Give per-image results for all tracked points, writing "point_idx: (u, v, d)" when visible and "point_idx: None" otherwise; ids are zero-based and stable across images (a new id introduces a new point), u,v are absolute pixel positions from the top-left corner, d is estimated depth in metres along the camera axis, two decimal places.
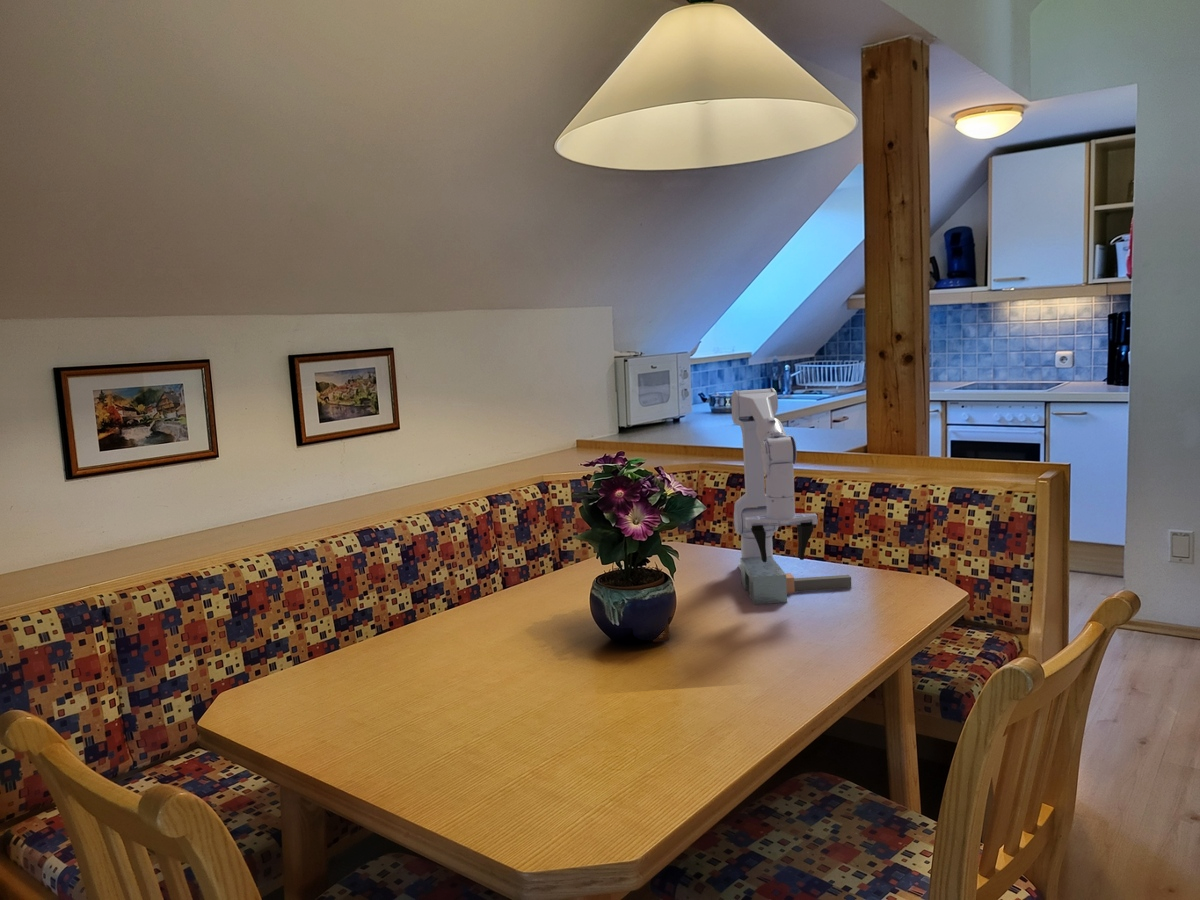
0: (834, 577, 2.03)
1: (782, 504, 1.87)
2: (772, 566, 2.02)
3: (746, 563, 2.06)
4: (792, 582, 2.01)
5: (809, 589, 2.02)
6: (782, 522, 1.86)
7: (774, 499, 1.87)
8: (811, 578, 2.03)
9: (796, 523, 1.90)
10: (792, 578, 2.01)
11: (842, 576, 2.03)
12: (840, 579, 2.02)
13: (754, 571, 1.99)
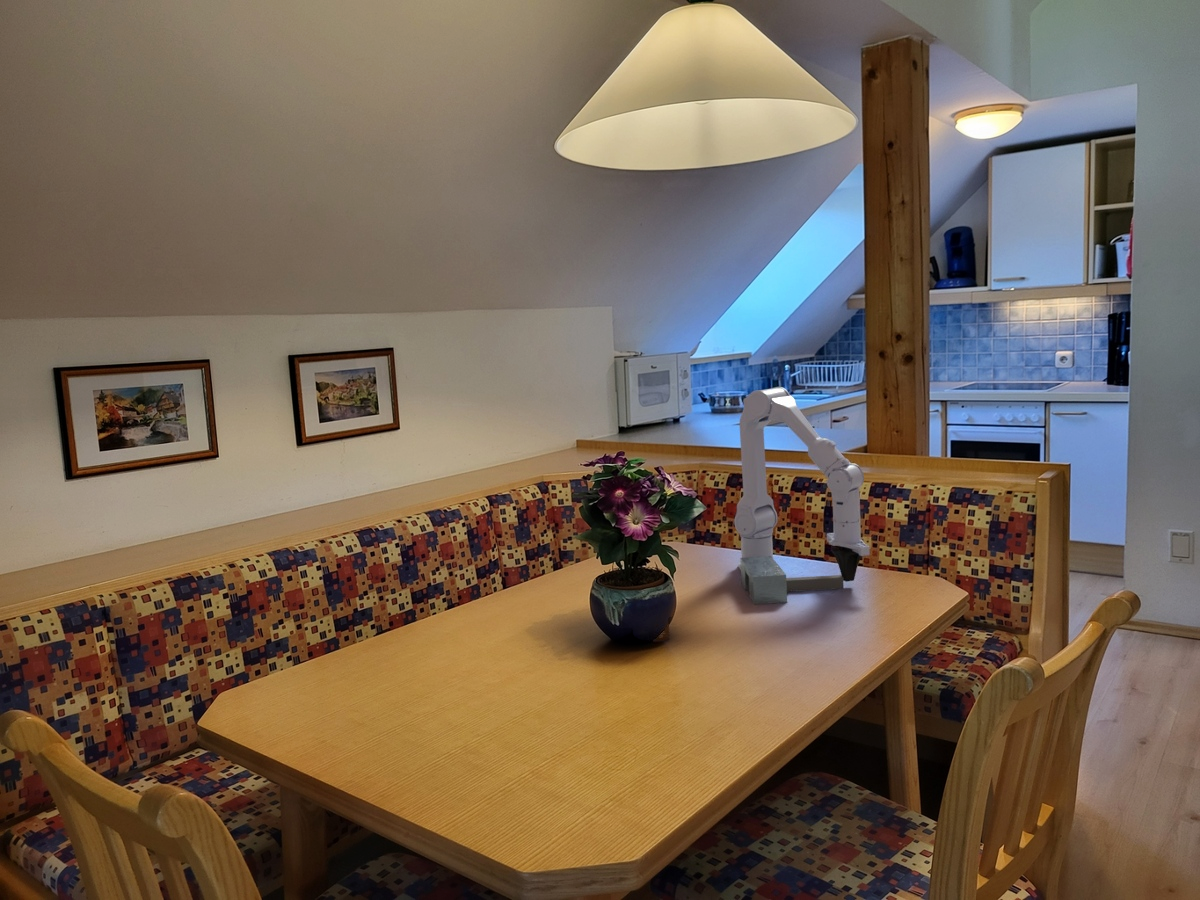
0: (826, 577, 2.03)
1: (835, 527, 2.01)
2: (772, 566, 2.02)
3: (746, 563, 2.06)
4: None
5: (801, 589, 2.03)
6: (829, 543, 2.02)
7: (833, 521, 2.02)
8: (803, 578, 2.03)
9: (853, 550, 1.99)
10: None
11: (834, 576, 2.03)
12: (832, 579, 2.02)
13: (754, 571, 1.99)
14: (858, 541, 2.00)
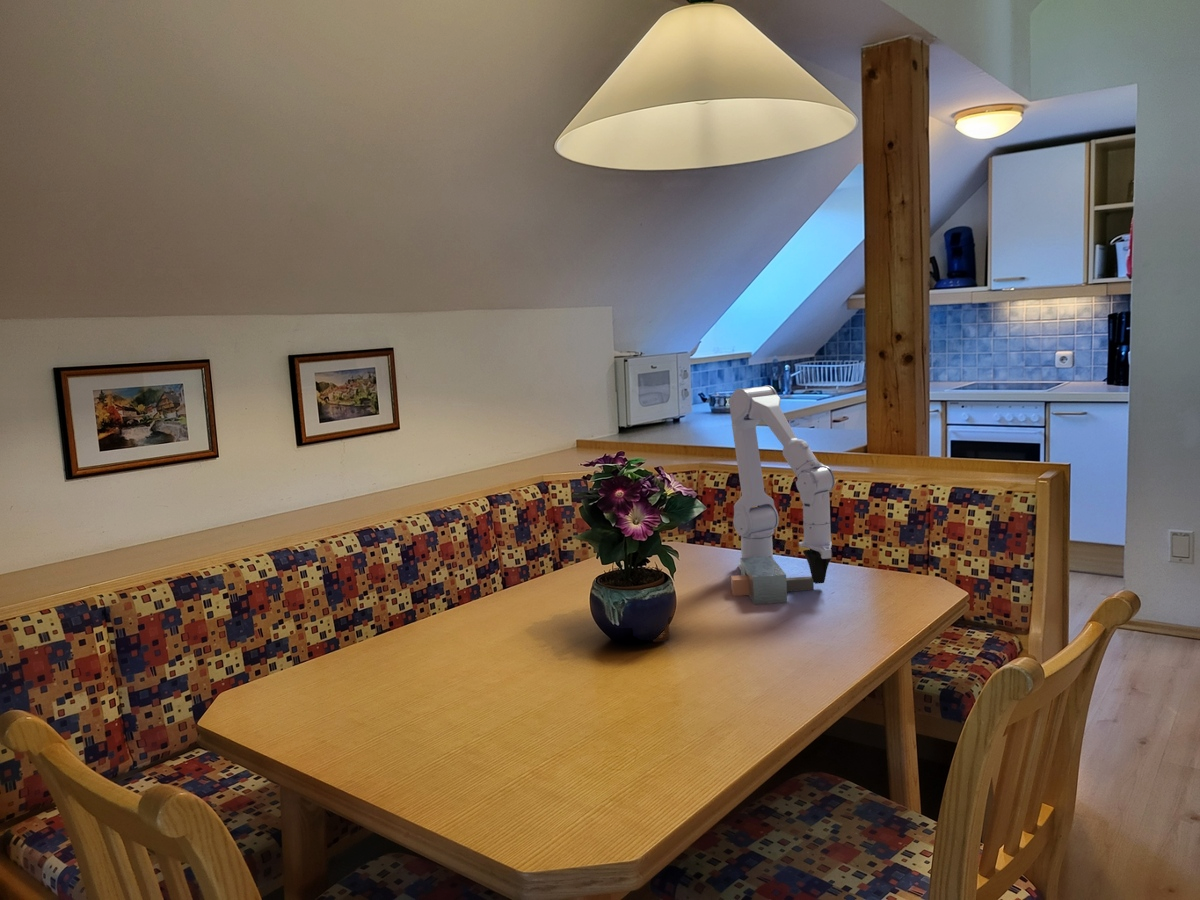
0: (797, 578, 2.03)
1: None
2: (772, 566, 2.02)
3: (746, 563, 2.06)
4: None
5: None
6: None
7: None
8: None
9: (819, 552, 1.99)
10: None
11: (804, 578, 2.03)
12: (802, 581, 2.03)
13: (754, 571, 1.99)
14: (825, 544, 1.99)
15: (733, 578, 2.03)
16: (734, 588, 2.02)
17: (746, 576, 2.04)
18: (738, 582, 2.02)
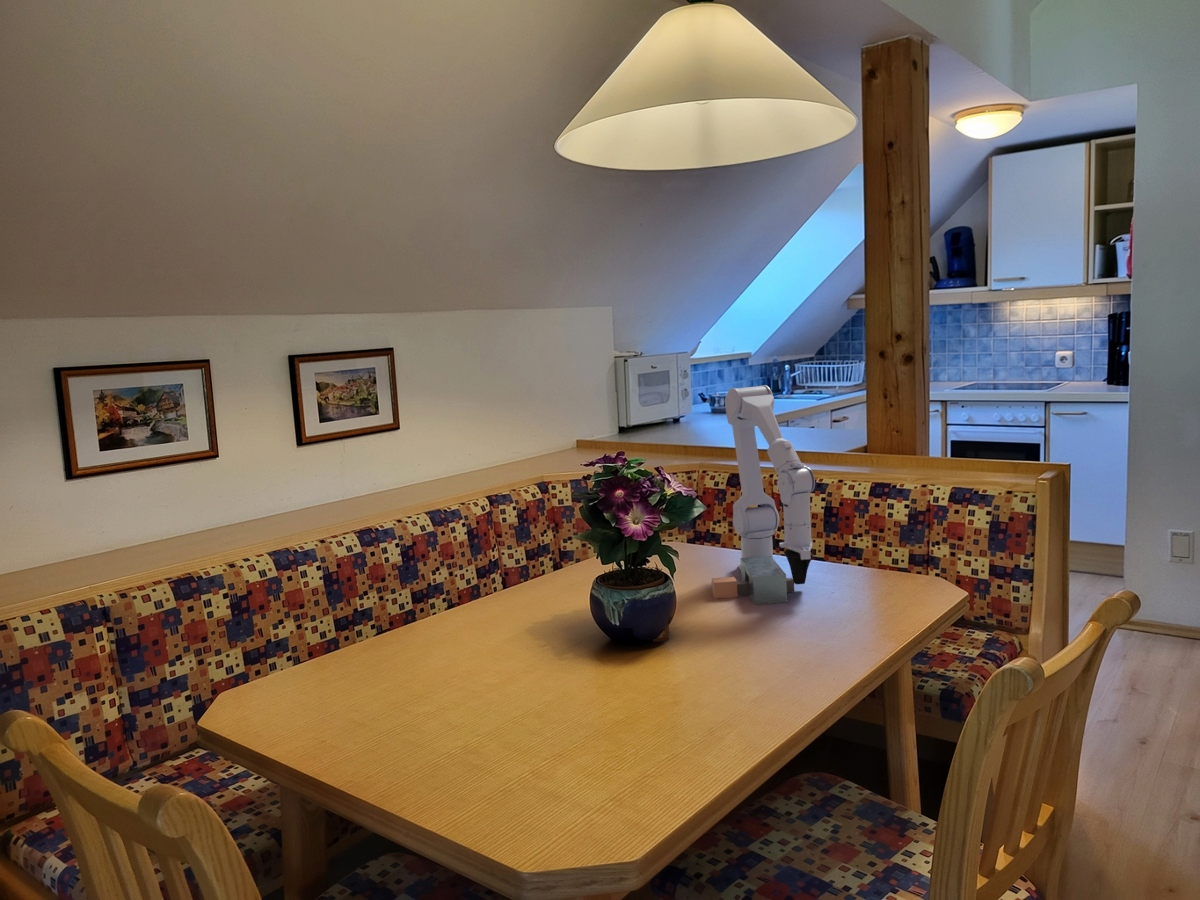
0: None
1: (784, 529, 2.02)
2: (772, 566, 2.02)
3: (746, 563, 2.06)
4: (735, 585, 2.01)
5: None
6: (779, 544, 2.02)
7: None
8: None
9: (799, 553, 1.99)
10: (735, 581, 2.01)
11: None
12: None
13: (754, 571, 1.99)
14: (806, 545, 1.99)
15: (714, 580, 2.03)
16: (715, 590, 2.01)
17: (727, 578, 2.04)
18: (719, 584, 2.01)
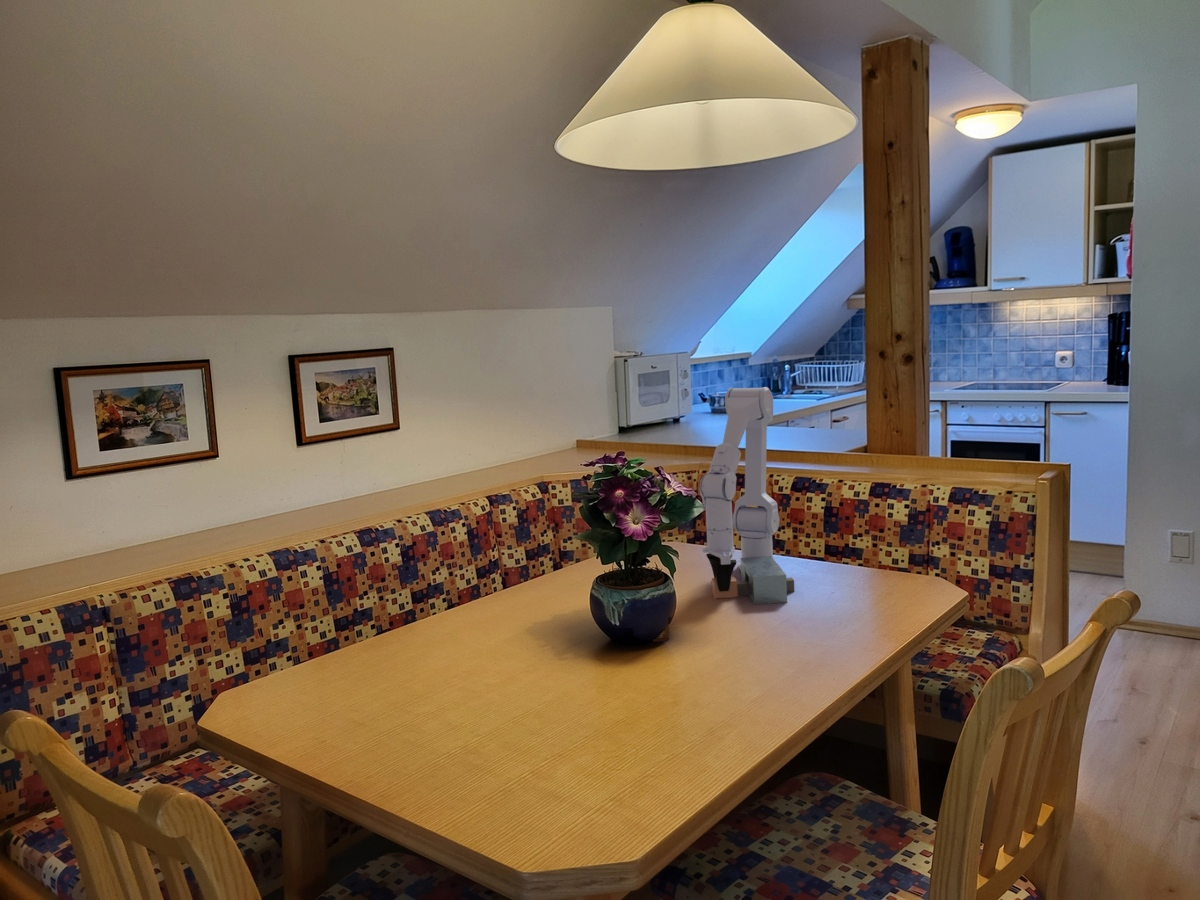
0: None
1: None
2: (772, 566, 2.02)
3: (746, 563, 2.06)
4: (735, 585, 2.01)
5: None
6: (702, 549, 2.02)
7: None
8: None
9: None
10: (735, 581, 2.01)
11: None
12: None
13: (754, 571, 1.99)
14: (727, 549, 1.99)
15: (714, 580, 2.02)
16: (715, 590, 2.01)
17: None
18: None
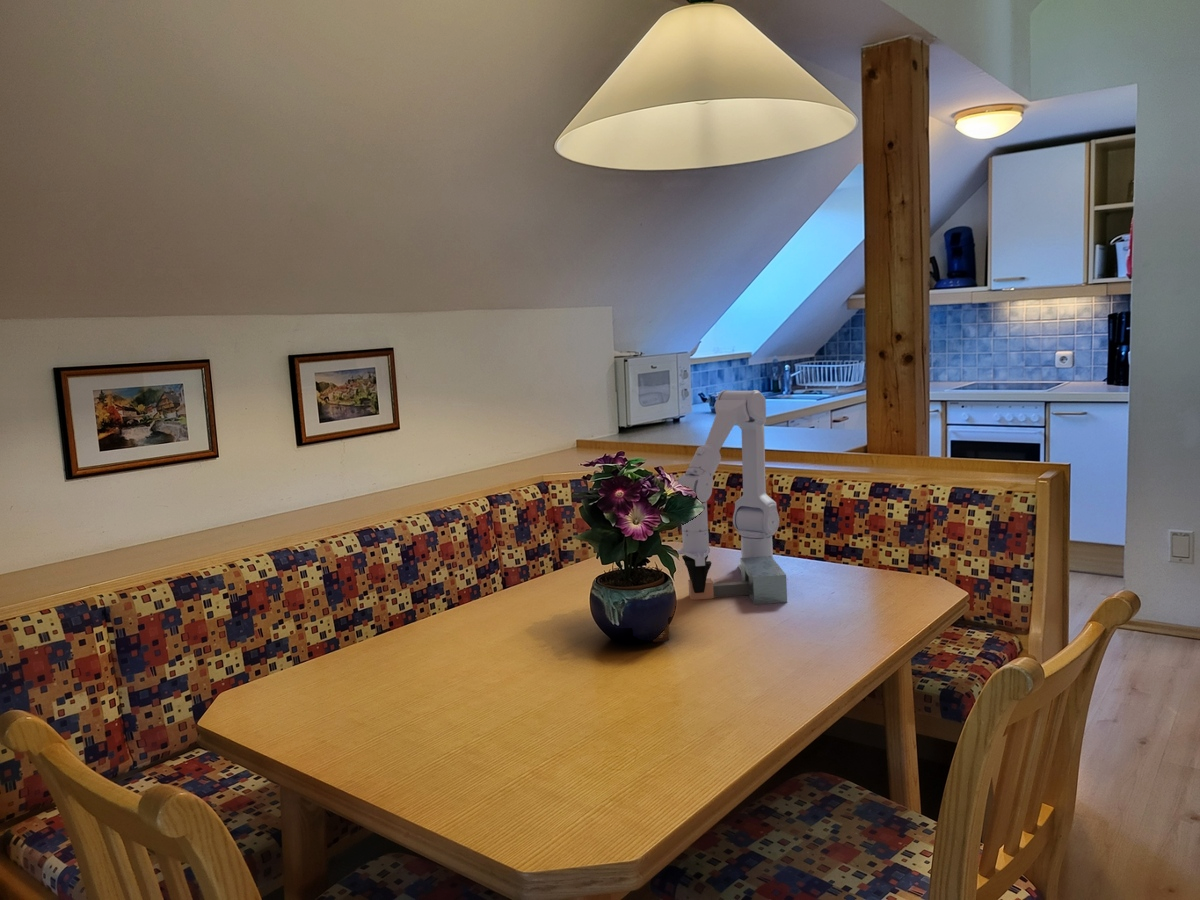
0: None
1: (682, 536, 2.01)
2: (772, 566, 2.02)
3: (746, 563, 2.06)
4: (711, 587, 2.01)
5: (728, 594, 2.02)
6: None
7: None
8: (731, 583, 2.03)
9: None
10: (711, 583, 2.01)
11: None
12: None
13: (754, 571, 1.99)
14: (702, 551, 1.99)
15: (690, 582, 2.02)
16: (691, 592, 2.01)
17: None
18: None
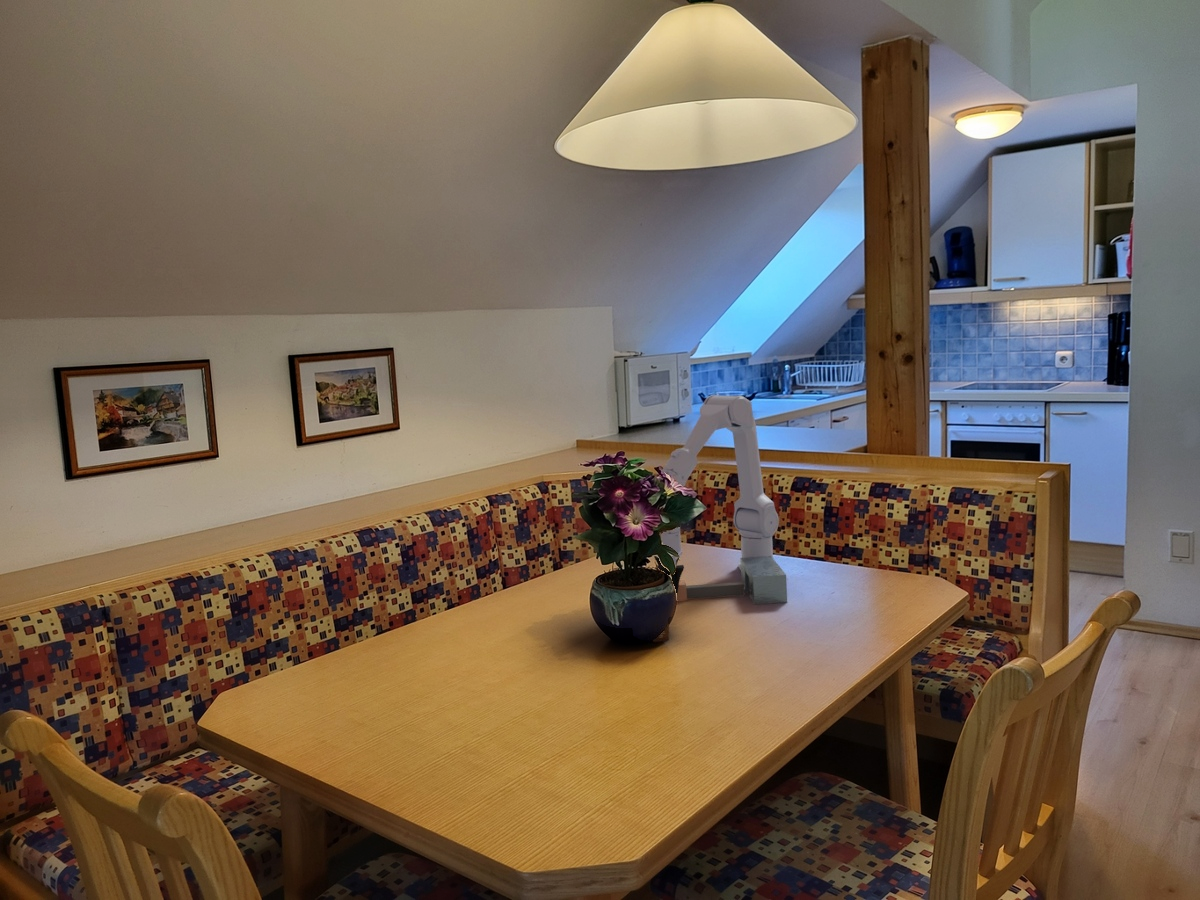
0: (727, 584, 2.03)
1: None
2: (772, 566, 2.02)
3: (746, 563, 2.06)
4: (684, 589, 2.01)
5: (702, 596, 2.02)
6: None
7: None
8: (704, 585, 2.03)
9: None
10: (684, 585, 2.01)
11: (735, 583, 2.03)
12: (733, 586, 2.02)
13: (754, 571, 1.99)
14: None
15: None
16: None
17: None
18: None
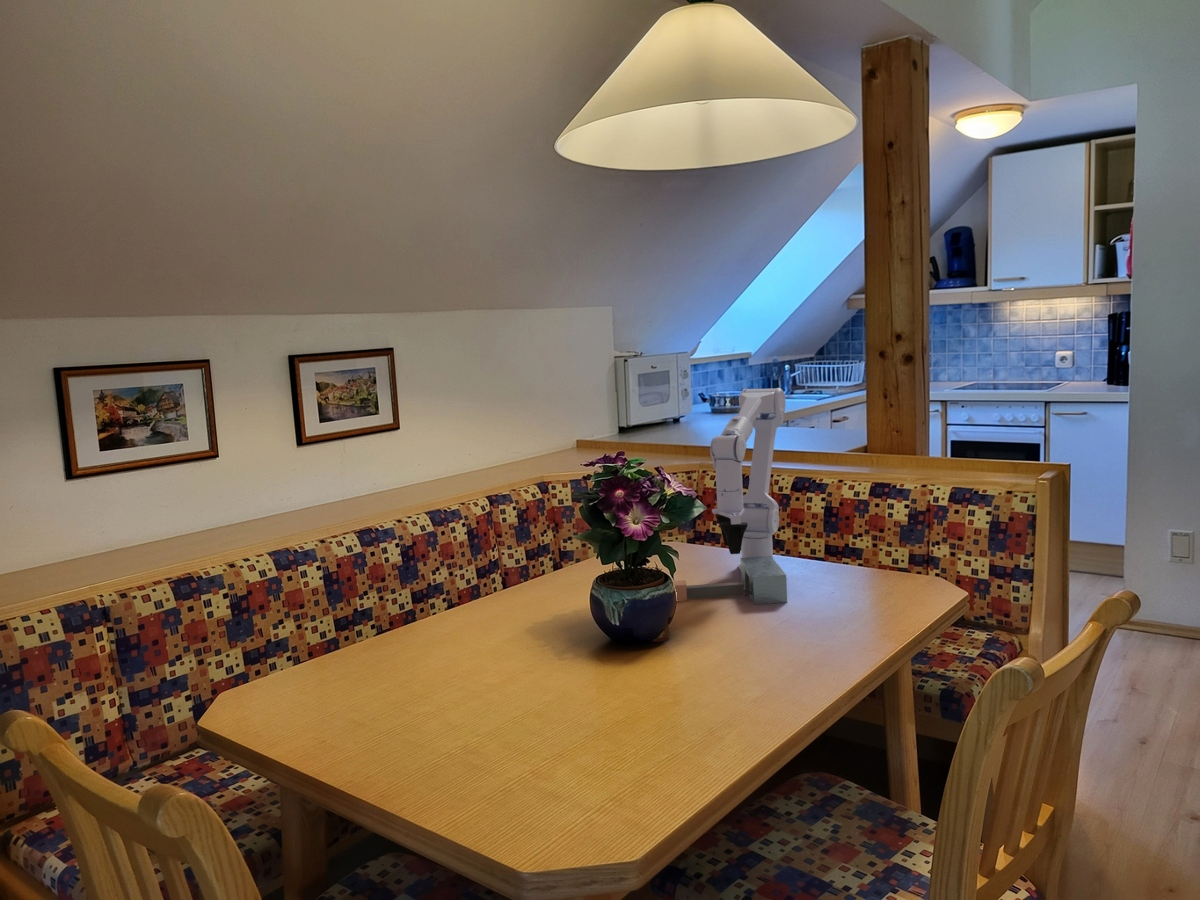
0: (727, 584, 2.03)
1: None
2: (772, 566, 2.02)
3: (746, 563, 2.06)
4: (684, 589, 2.01)
5: (702, 596, 2.02)
6: (712, 511, 2.04)
7: None
8: (704, 585, 2.03)
9: None
10: (684, 585, 2.01)
11: (735, 583, 2.03)
12: (733, 586, 2.02)
13: (754, 571, 1.99)
14: (737, 510, 2.01)
15: None
16: None
17: (677, 582, 2.03)
18: None
